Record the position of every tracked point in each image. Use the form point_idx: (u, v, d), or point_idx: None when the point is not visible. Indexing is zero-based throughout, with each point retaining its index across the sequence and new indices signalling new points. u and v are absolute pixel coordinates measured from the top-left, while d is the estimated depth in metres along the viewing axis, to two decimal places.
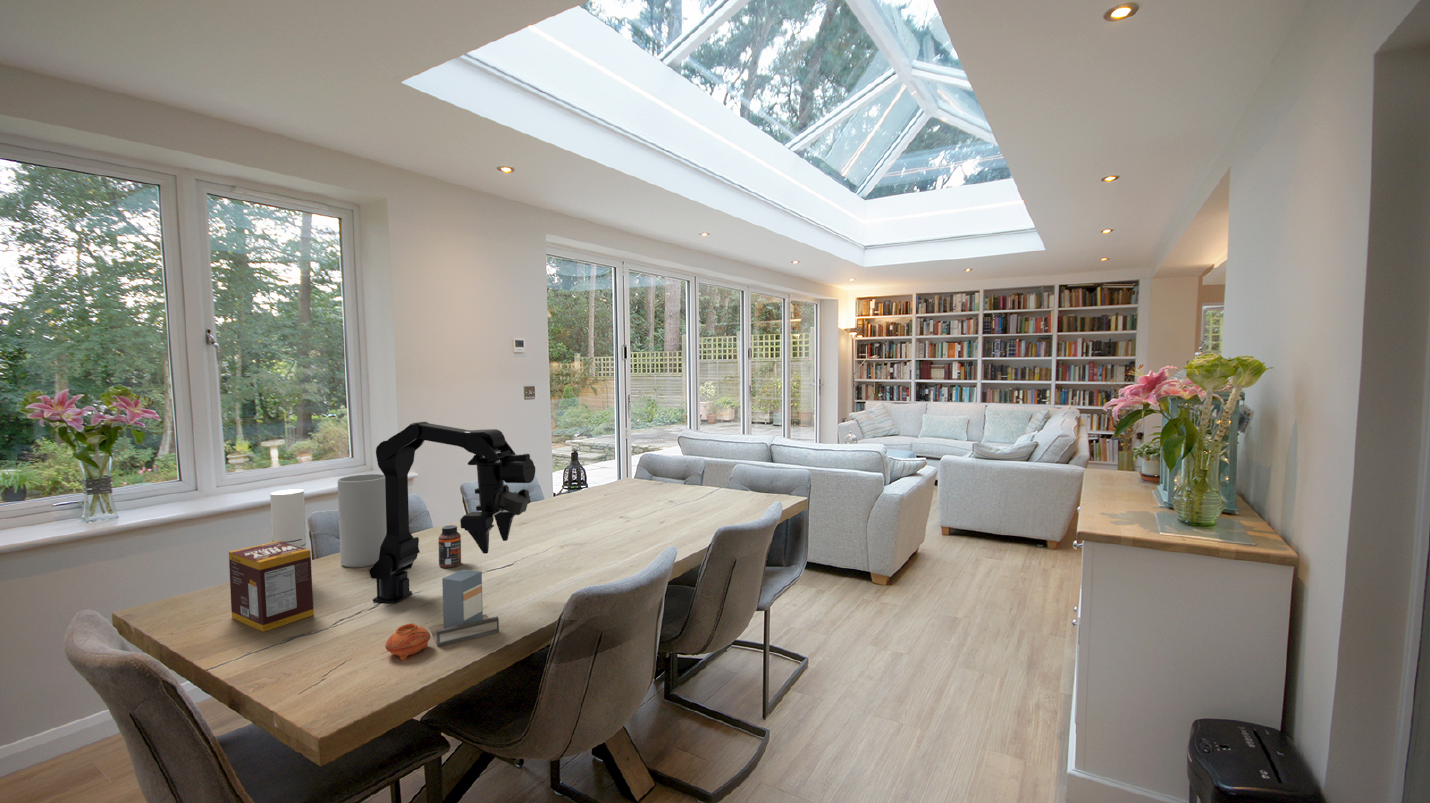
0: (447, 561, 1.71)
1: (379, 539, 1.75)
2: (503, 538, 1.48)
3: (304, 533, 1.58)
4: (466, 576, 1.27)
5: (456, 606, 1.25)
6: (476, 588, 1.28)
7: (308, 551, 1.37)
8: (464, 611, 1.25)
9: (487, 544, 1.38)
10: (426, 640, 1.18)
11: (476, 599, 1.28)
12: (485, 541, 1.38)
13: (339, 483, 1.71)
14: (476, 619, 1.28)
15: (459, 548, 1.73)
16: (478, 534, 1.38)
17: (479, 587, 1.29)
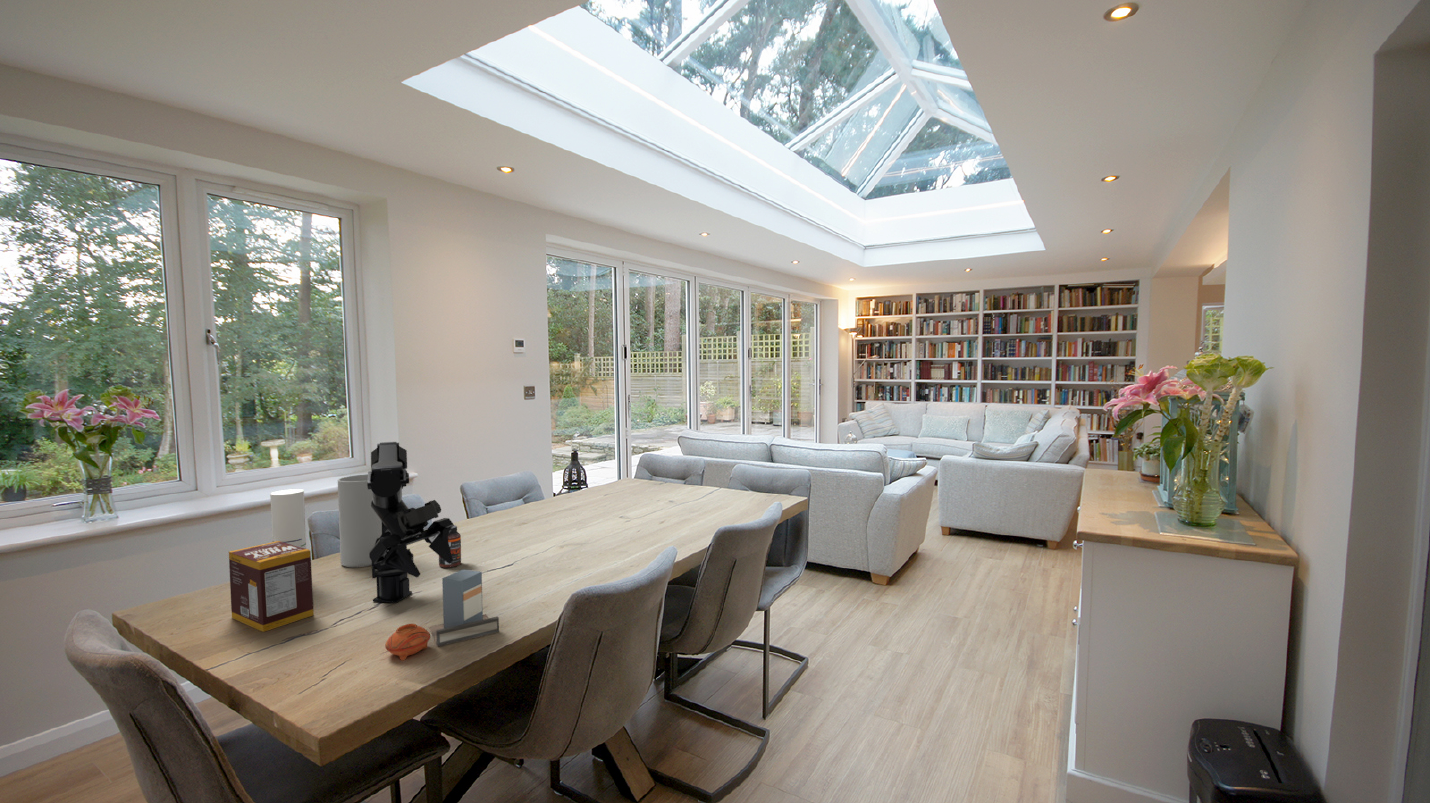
0: None
1: None
2: (448, 561, 1.35)
3: (304, 533, 1.58)
4: (466, 576, 1.27)
5: (456, 606, 1.25)
6: (476, 588, 1.28)
7: (308, 551, 1.37)
8: (464, 611, 1.25)
9: (413, 565, 1.26)
10: (426, 640, 1.18)
11: (476, 599, 1.28)
12: (408, 563, 1.25)
13: (339, 483, 1.71)
14: (476, 619, 1.28)
15: (459, 548, 1.73)
16: (399, 561, 1.26)
17: (479, 587, 1.29)
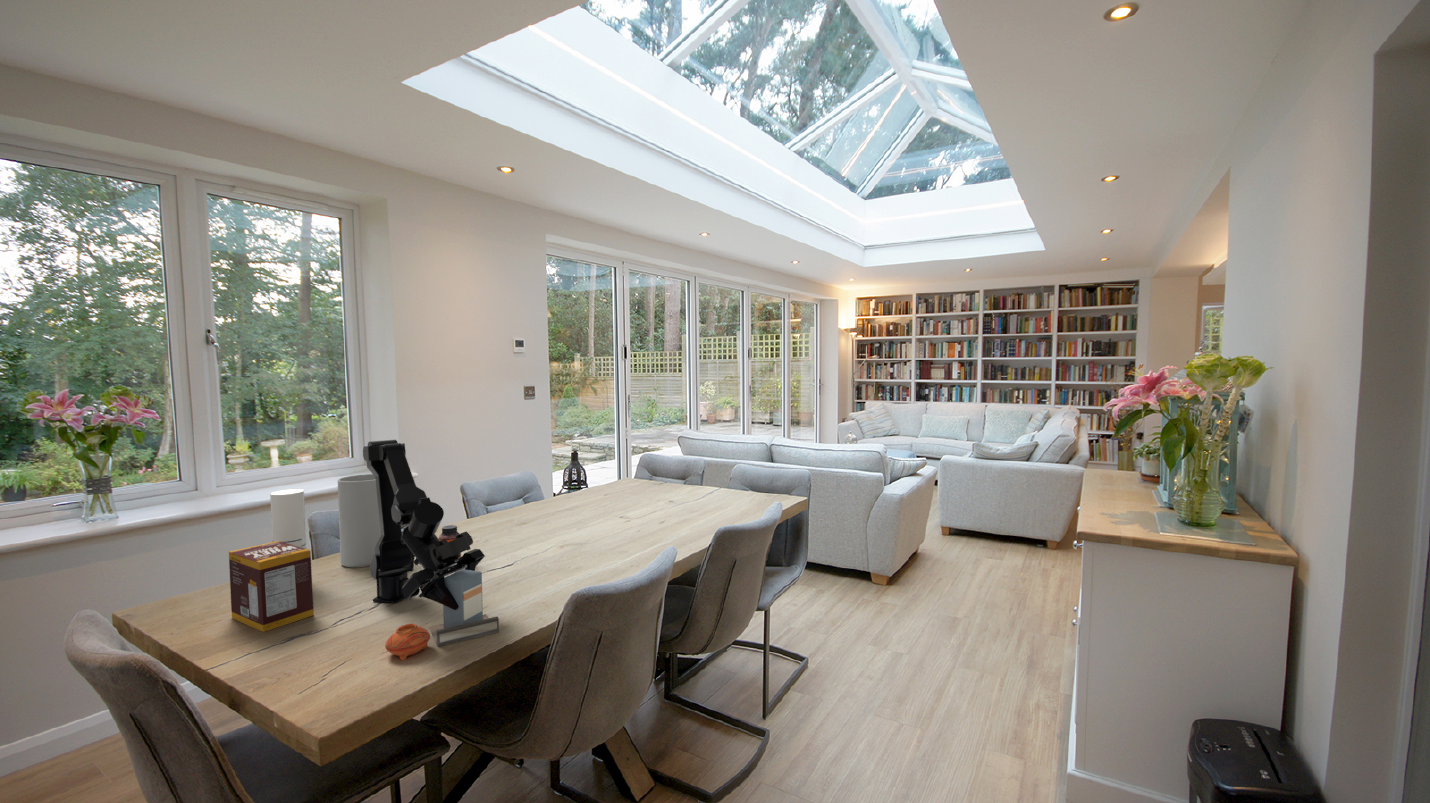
0: None
1: None
2: None
3: (304, 533, 1.58)
4: (466, 576, 1.27)
5: None
6: (476, 588, 1.28)
7: (308, 551, 1.37)
8: (464, 611, 1.25)
9: (451, 598, 1.24)
10: (426, 640, 1.18)
11: (476, 599, 1.28)
12: (446, 596, 1.24)
13: (339, 483, 1.71)
14: (476, 619, 1.28)
15: None
16: (437, 594, 1.25)
17: (479, 587, 1.29)
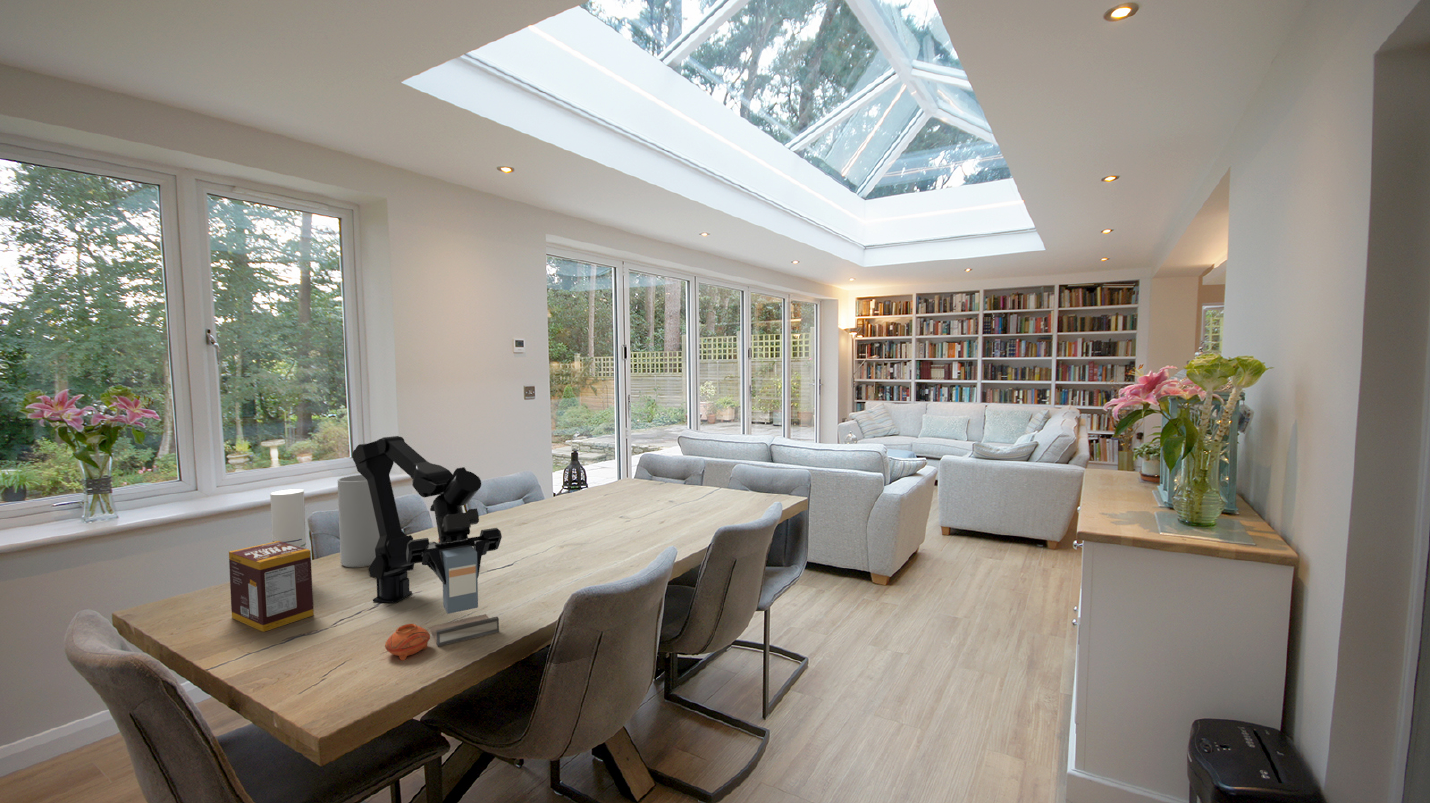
0: None
1: None
2: None
3: (304, 533, 1.58)
4: (458, 553, 1.25)
5: None
6: (468, 567, 1.26)
7: (308, 551, 1.37)
8: (449, 587, 1.24)
9: (441, 571, 1.25)
10: (426, 640, 1.18)
11: (467, 579, 1.26)
12: (437, 568, 1.25)
13: (339, 483, 1.71)
14: (468, 599, 1.26)
15: None
16: (435, 565, 1.27)
17: (472, 567, 1.26)
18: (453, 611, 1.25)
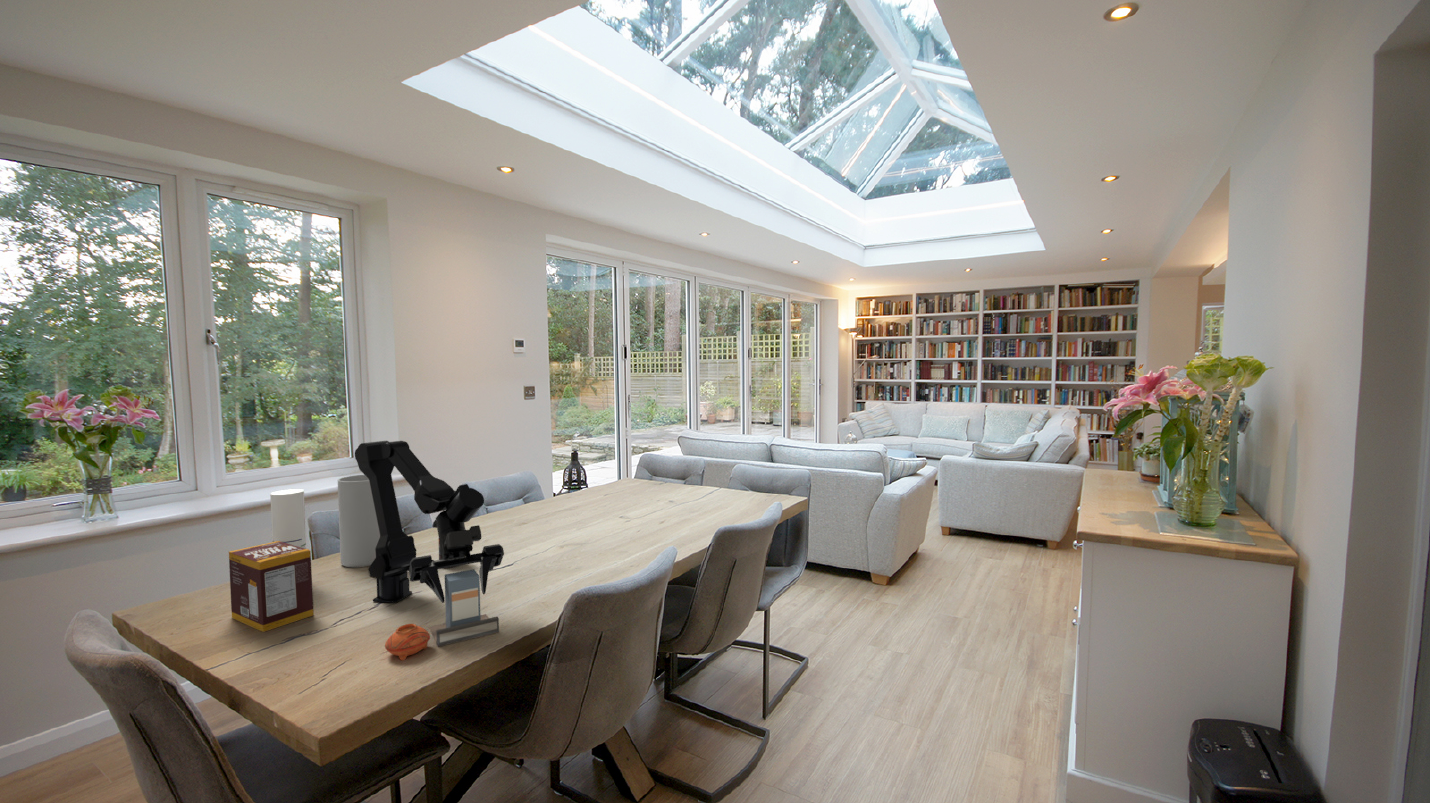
0: None
1: None
2: (482, 591, 1.29)
3: (304, 533, 1.58)
4: (460, 577, 1.26)
5: (448, 605, 1.25)
6: (471, 591, 1.26)
7: (308, 551, 1.37)
8: (452, 611, 1.24)
9: (439, 590, 1.25)
10: (426, 640, 1.18)
11: (470, 602, 1.26)
12: (435, 587, 1.25)
13: (339, 483, 1.71)
14: None
15: None
16: (433, 583, 1.27)
17: (474, 591, 1.27)
18: None
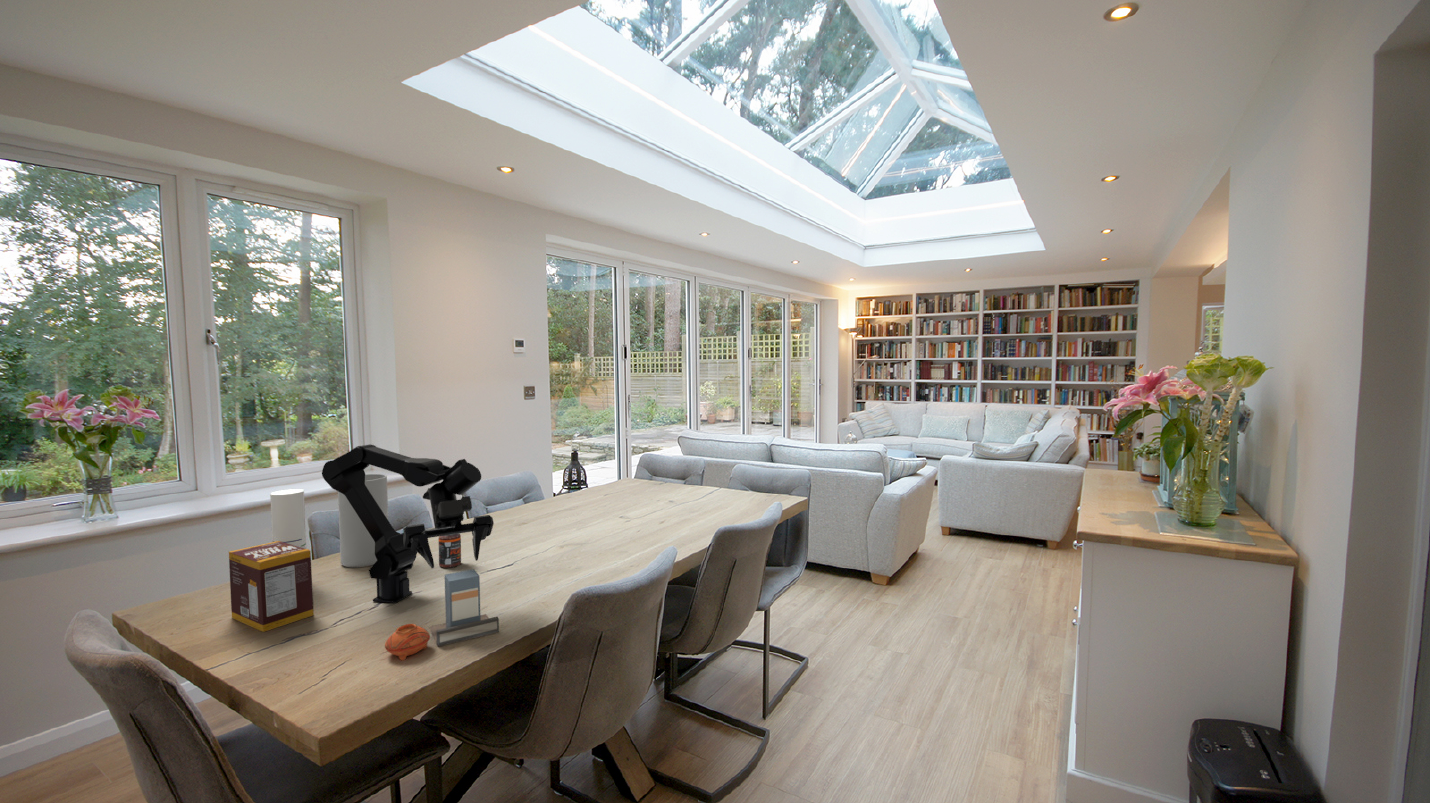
0: (447, 561, 1.71)
1: None
2: (475, 558, 1.37)
3: (304, 533, 1.58)
4: (460, 577, 1.26)
5: (448, 605, 1.25)
6: (471, 591, 1.26)
7: (308, 551, 1.37)
8: (452, 611, 1.24)
9: (429, 556, 1.32)
10: (426, 640, 1.18)
11: (470, 602, 1.26)
12: (425, 553, 1.32)
13: None
14: None
15: (459, 548, 1.73)
16: (423, 550, 1.34)
17: (474, 591, 1.27)
18: None
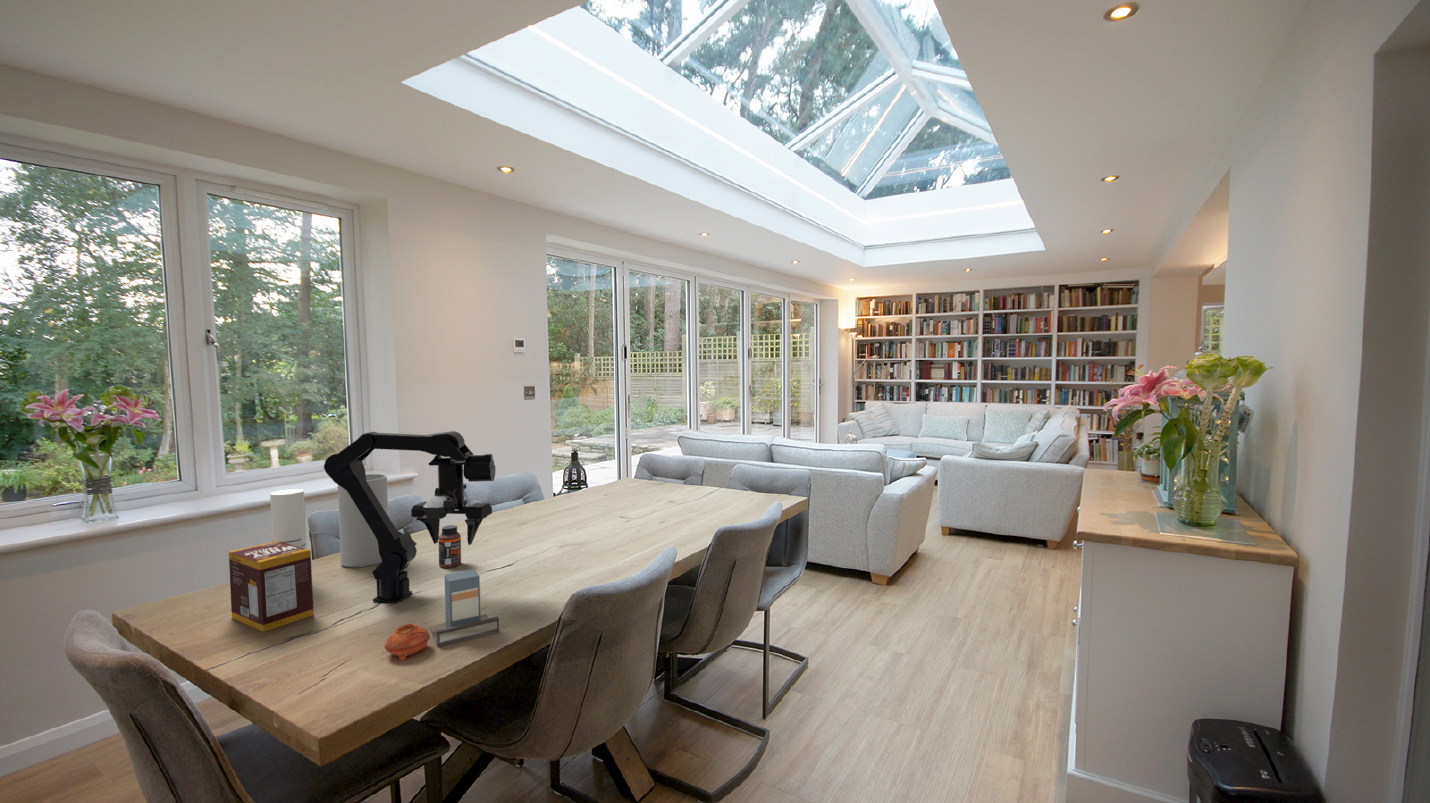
0: (446, 561, 1.71)
1: None
2: None
3: (304, 533, 1.58)
4: (460, 577, 1.26)
5: (448, 605, 1.25)
6: (471, 591, 1.26)
7: (308, 551, 1.37)
8: (452, 611, 1.24)
9: (431, 535, 1.50)
10: (425, 640, 1.18)
11: (470, 602, 1.26)
12: None
13: None
14: None
15: (459, 548, 1.73)
16: None
17: (474, 591, 1.27)
18: None
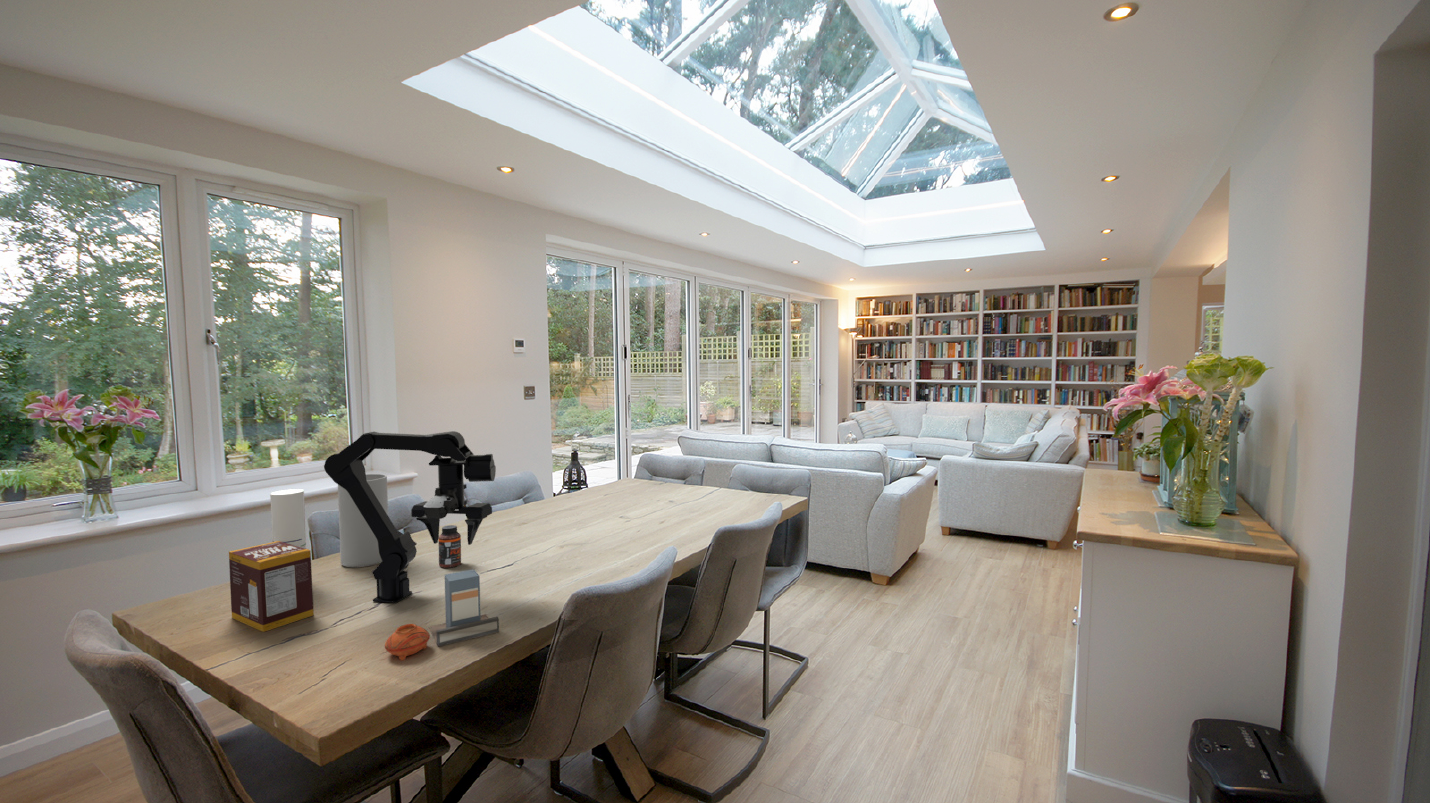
0: (446, 561, 1.71)
1: None
2: None
3: (304, 533, 1.58)
4: (460, 577, 1.26)
5: (448, 605, 1.25)
6: (471, 591, 1.26)
7: (308, 551, 1.37)
8: (452, 611, 1.24)
9: (431, 535, 1.50)
10: (425, 640, 1.18)
11: (470, 602, 1.26)
12: None
13: None
14: None
15: (459, 548, 1.73)
16: None
17: (474, 591, 1.27)
18: None
